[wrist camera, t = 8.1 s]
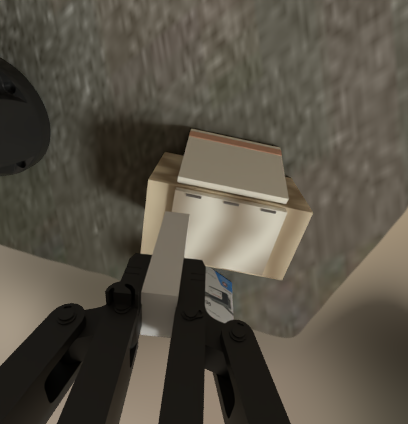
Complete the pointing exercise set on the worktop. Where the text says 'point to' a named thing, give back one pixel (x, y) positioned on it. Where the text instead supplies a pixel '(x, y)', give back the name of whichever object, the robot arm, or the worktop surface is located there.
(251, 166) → the stub
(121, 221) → the worktop surface
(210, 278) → the ink box
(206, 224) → the ticket block
